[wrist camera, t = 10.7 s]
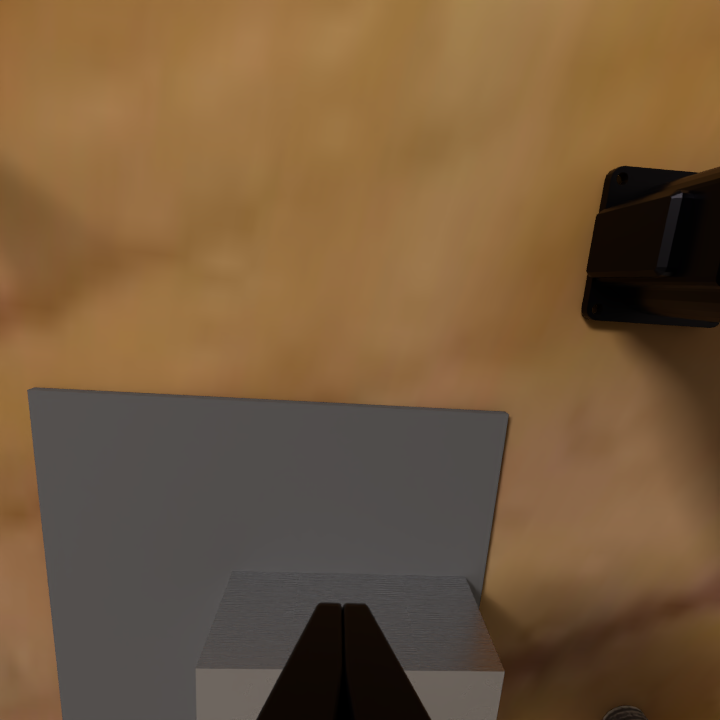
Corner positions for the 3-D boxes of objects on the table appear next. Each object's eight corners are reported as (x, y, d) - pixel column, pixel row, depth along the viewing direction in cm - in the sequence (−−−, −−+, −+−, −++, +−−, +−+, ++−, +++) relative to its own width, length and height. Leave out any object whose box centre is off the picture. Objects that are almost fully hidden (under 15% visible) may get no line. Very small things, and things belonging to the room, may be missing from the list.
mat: (505, 411, 19) (508, 414, 18) (452, 758, 23) (454, 767, 23) (34, 387, 17) (27, 389, 17) (72, 760, 22) (68, 768, 21)
